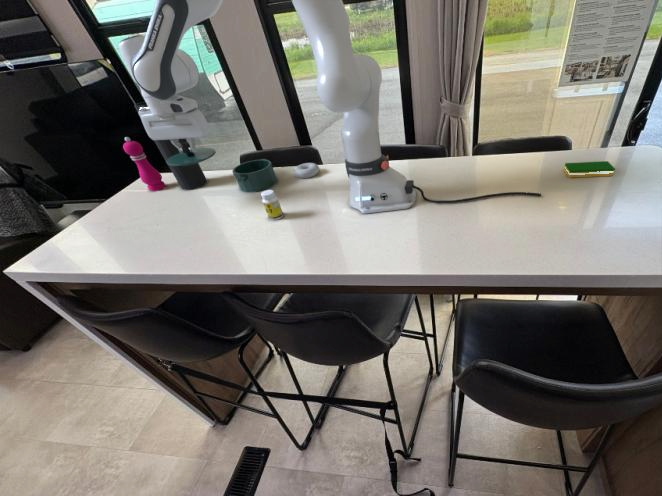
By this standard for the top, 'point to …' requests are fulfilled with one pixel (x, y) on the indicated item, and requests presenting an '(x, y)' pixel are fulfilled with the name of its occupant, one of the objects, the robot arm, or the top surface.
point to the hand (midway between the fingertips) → (189, 152)
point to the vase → (184, 175)
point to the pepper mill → (144, 165)
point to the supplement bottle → (271, 205)
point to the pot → (255, 175)
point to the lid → (190, 156)
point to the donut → (306, 170)
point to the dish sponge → (588, 168)
